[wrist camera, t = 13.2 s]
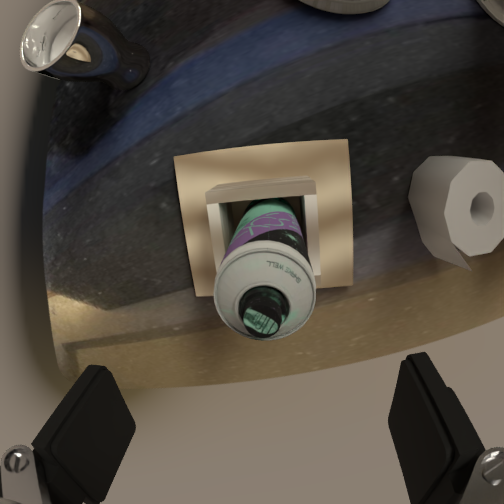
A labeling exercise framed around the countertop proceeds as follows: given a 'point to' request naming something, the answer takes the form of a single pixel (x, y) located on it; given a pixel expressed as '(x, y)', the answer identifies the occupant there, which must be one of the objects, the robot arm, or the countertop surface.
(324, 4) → the flying saucer
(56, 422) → the robot arm
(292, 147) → the can caddy
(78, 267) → the countertop surface
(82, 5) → the beer glass
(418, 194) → the toilet tissue
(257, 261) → the spray can
